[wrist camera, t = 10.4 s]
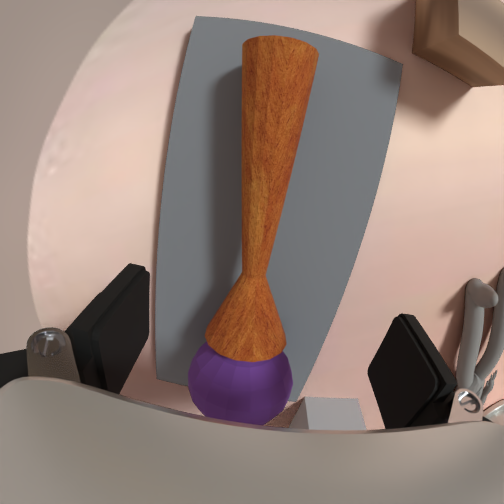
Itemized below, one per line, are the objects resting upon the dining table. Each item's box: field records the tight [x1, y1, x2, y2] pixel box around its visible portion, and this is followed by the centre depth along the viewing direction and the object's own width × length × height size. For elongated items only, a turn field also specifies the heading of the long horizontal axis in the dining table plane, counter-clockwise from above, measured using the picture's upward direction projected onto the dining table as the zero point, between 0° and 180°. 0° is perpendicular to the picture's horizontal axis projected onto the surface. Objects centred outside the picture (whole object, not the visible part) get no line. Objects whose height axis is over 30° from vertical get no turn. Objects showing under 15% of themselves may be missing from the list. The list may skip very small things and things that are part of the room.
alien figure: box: [454, 268, 504, 405], centre depth 20 cm, size 8×5×25 cm
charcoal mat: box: [155, 16, 403, 402], centre depth 16 cm, size 24×11×1 cm, turn 169°
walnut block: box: [412, 0, 504, 87], centre depth 9 cm, size 5×5×5 cm
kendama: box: [188, 35, 319, 425], centre depth 13 cm, size 6×6×20 cm
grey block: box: [289, 397, 366, 430], centre depth 21 cm, size 5×5×5 cm
